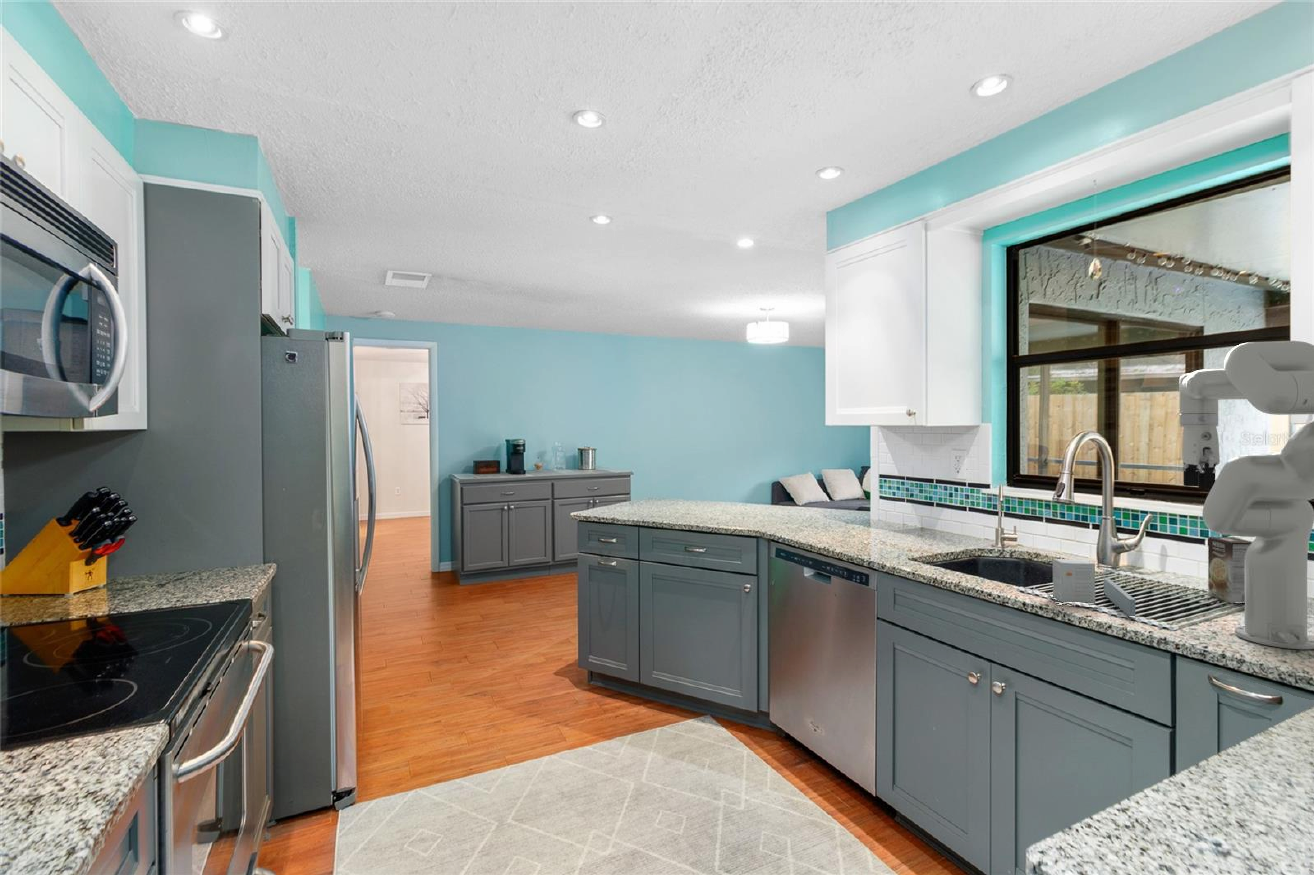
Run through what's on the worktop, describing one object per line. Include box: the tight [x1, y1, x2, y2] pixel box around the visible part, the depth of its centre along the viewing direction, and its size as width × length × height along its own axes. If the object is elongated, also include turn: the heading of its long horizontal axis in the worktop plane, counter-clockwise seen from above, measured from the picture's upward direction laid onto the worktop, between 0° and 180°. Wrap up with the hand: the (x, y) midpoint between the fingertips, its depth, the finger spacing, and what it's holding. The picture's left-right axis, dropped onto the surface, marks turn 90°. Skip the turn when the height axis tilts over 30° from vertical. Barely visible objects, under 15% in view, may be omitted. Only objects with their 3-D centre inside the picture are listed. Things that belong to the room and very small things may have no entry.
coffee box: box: [1207, 536, 1253, 604], centre depth 165 cm, size 9×6×16 cm
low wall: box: [1103, 577, 1136, 617], centre depth 160 cm, size 24×1×4 cm, turn 156°
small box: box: [1052, 558, 1096, 604], centre depth 164 cm, size 8×6×10 cm
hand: (1199, 487), depth 160 cm, fingers open, 9 cm apart
